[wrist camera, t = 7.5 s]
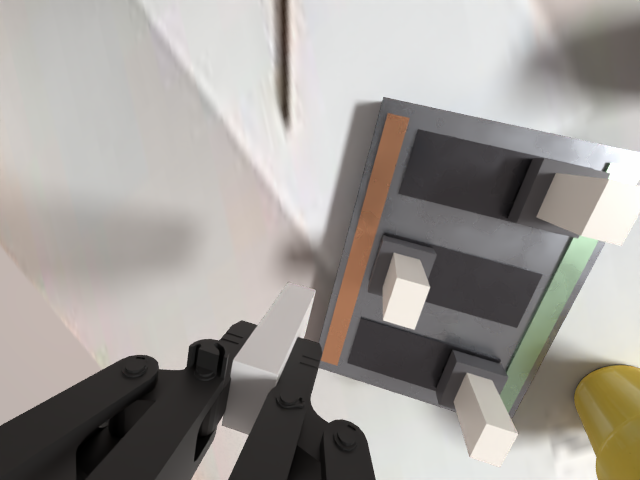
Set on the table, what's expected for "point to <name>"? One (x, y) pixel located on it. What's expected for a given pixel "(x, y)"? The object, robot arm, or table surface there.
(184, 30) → the table surface
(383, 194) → the panel
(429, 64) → the table surface
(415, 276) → the breaker mid
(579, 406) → the plant pot
